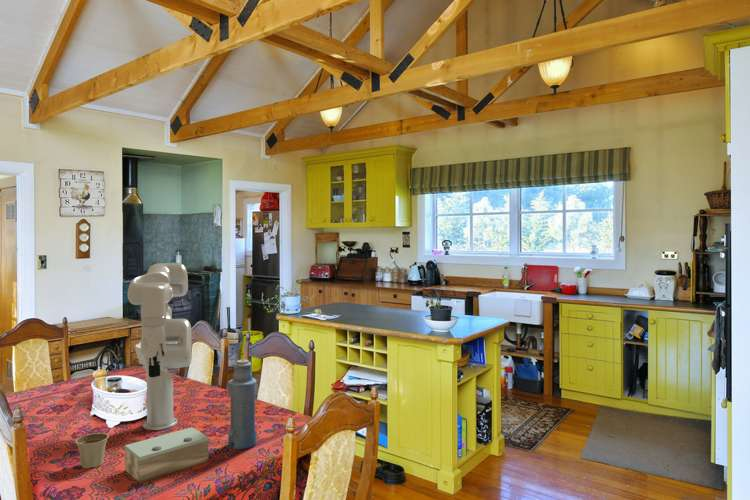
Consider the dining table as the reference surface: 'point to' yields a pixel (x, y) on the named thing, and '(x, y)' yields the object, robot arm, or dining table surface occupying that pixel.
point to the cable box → (166, 462)
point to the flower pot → (92, 449)
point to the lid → (166, 443)
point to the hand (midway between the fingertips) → (154, 376)
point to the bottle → (242, 407)
